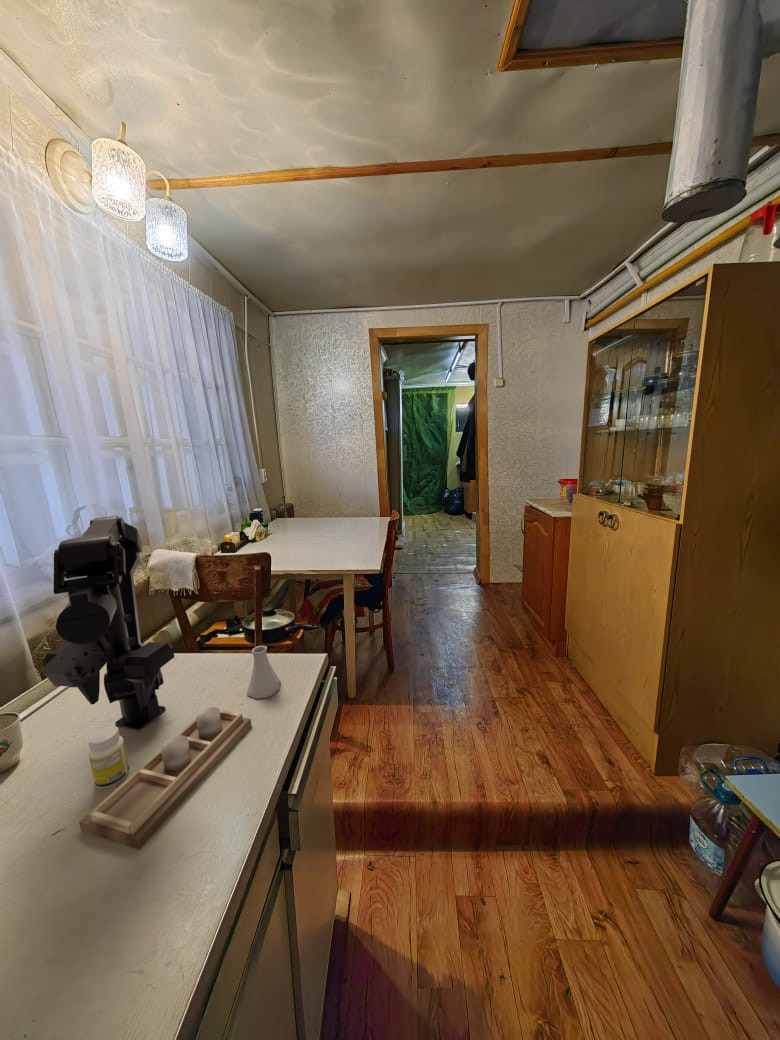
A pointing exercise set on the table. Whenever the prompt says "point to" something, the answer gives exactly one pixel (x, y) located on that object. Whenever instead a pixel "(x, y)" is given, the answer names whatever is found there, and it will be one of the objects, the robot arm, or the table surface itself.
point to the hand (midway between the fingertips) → (119, 704)
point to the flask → (262, 675)
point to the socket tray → (165, 779)
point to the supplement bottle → (108, 757)
